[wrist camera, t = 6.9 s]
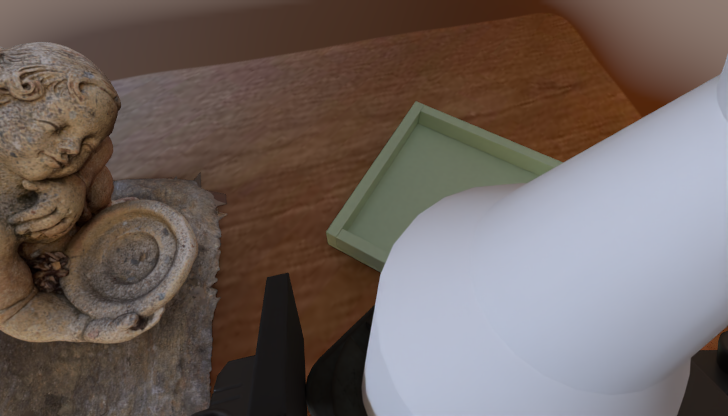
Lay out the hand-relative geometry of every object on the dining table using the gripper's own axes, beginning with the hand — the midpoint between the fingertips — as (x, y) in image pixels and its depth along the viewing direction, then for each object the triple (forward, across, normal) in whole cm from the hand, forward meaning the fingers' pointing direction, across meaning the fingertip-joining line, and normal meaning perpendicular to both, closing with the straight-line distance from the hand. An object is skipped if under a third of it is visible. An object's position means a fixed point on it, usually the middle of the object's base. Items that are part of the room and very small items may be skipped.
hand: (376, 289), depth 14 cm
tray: (+13, +10, -3) cm, 16 cm away
